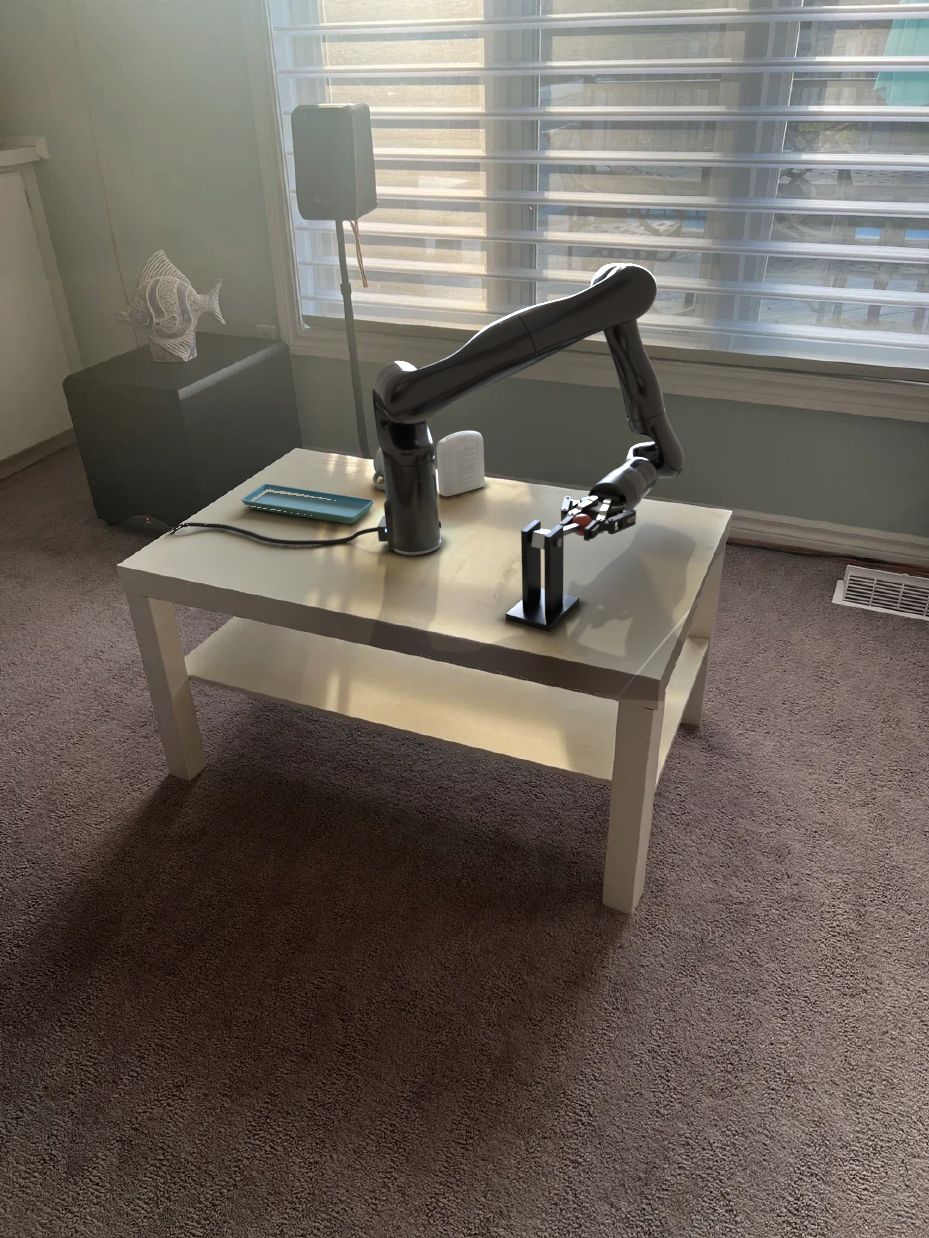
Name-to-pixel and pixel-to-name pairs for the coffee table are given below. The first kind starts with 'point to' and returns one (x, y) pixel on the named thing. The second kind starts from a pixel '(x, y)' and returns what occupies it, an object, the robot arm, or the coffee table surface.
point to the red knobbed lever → (576, 527)
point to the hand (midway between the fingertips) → (574, 532)
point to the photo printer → (460, 462)
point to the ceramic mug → (378, 469)
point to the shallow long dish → (309, 504)
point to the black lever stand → (536, 602)
